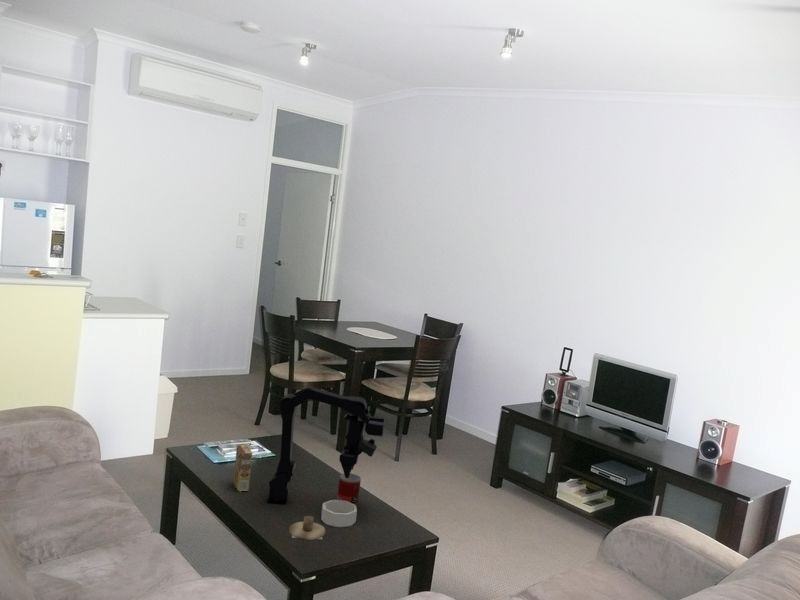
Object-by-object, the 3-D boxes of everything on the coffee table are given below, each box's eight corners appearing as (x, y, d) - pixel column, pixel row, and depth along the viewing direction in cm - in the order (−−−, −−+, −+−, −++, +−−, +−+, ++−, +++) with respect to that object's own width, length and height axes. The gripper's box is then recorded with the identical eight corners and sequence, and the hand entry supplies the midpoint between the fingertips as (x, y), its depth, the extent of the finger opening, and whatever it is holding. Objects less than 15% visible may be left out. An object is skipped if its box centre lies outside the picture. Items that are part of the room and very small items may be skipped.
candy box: (248, 491, 256) (253, 452, 254) (237, 492, 254) (241, 452, 252) (243, 483, 264) (247, 444, 262) (232, 483, 262) (236, 445, 260)
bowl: (321, 527, 234) (323, 513, 233) (320, 512, 246) (322, 499, 245) (356, 529, 236) (357, 515, 235) (353, 514, 247) (355, 501, 247)
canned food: (354, 511, 250) (357, 482, 249) (333, 506, 252) (337, 478, 251) (359, 503, 258) (363, 475, 257) (339, 499, 259) (343, 471, 258)
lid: (288, 538, 221) (290, 524, 221) (289, 522, 233) (291, 509, 233) (325, 540, 223) (327, 526, 223) (324, 524, 235) (326, 511, 234)
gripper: (373, 443, 238) (367, 486, 239) (379, 429, 256) (374, 469, 258) (341, 438, 238) (336, 481, 240) (350, 424, 257) (345, 464, 258)
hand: (349, 473), depth 249 cm, fingers open, 9 cm apart
